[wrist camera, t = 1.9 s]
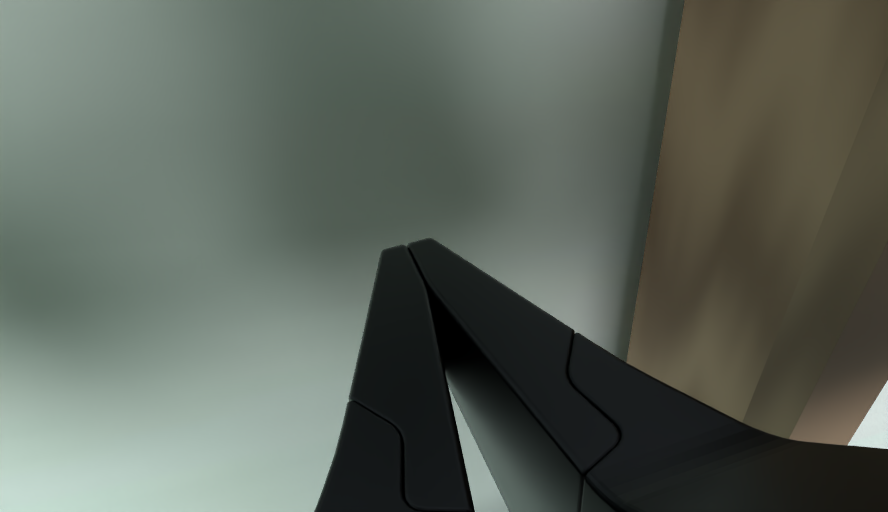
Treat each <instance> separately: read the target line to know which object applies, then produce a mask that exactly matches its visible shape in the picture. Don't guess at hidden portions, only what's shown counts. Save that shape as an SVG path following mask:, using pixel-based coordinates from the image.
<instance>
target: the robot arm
mask: <svg viewBox="0 0 888 512" xmlns="http://www.w3.org/2000/svg"><path fill="white" fill-rule="evenodd" d="M448 385H449V387H450V389H451V392H452V394H453V396H454V398H455V400H456V402H457V404H458V406H459V408H460V410H461V412H462V414H463V416H464V418H465V421H466V423H467V425H468V427H469V429H470V431H471V433H472V435H473V437H474V439H475V441H476V443H477V445H478V448H479V450H480V452H481V454H482V456H483V458H484V460H485V462H486V464H487V466H488V468H489V470H490V472H491V475H492V477H493V479H494V481H495V483H496V485H497V487H498V489H499V491H500V493H501V495H502V497H503V499H504V501H505V504H506V506H507V508H508V510H509V512H888V449H881V448H870V447H859V446H848V445H837V444H826V443H815V442H805V441H797V440H792V439H787V438H783V437H780V436H776V435H773V434H769V433H767V432H764V431H761V430H759V429H756V428H753V427H751V426H749V425H747V424H745V423H743V422H740V421H738V420H736V419H734V418H732V417H730V416H728V415H727V414H725V413H723V412H721V411H719V410H717V409H715V408H713V407H711V406H709V405H707V404H705V403H703V402H701V401H699V400H697V399H695V398H693V397H691V396H689V395H687V394H685V393H683V392H681V391H679V390H677V389H675V388H674V387H672V386H670V385H668V384H666V383H664V382H662V381H660V380H658V379H656V378H654V377H652V376H650V375H649V374H647V373H645V372H643V371H641V370H639V369H637V368H636V367H634V366H632V365H630V364H628V363H626V362H624V361H623V360H621V359H620V358H618V357H616V356H615V355H613V354H611V353H610V352H608V351H606V350H605V349H603V348H601V347H600V346H598V345H596V344H595V343H593V342H592V341H590V340H589V339H587V338H586V337H584V336H583V335H581V334H579V333H575V332H574V330H573V329H571V328H570V327H568V326H567V325H565V324H564V323H562V322H561V321H559V320H557V319H556V318H554V317H553V316H551V315H550V314H548V313H547V312H545V311H544V310H542V309H540V308H539V307H537V306H536V305H534V304H533V303H531V302H530V301H528V300H527V299H525V298H523V297H522V296H520V295H519V294H517V293H516V292H514V291H513V290H511V289H510V288H508V287H506V286H505V285H503V284H502V283H500V282H499V281H497V280H496V279H494V278H493V277H491V276H489V275H488V274H486V273H485V272H483V271H482V270H480V269H479V268H477V267H476V266H474V265H472V264H471V263H469V262H468V261H466V260H465V259H463V258H462V257H460V256H459V255H457V254H455V253H454V252H452V251H451V250H449V249H448V248H446V247H445V246H443V245H442V244H440V243H438V242H437V241H435V240H434V239H432V238H426V239H422V240H418V241H415V242H411V243H409V244H408V246H407V247H406V246H405V245H399V246H395V247H391V248H388V249H384V250H383V251H382V252H381V255H380V260H379V264H378V269H377V273H376V278H375V282H374V287H373V291H372V296H371V300H370V305H369V309H368V314H367V318H366V323H365V327H364V332H363V336H362V341H361V345H360V350H359V354H358V359H357V363H356V368H355V372H354V377H353V381H352V386H351V390H350V395H349V402H348V403H347V407H346V411H345V416H344V420H343V425H342V428H341V432H340V436H339V440H338V444H337V447H336V451H335V455H334V458H333V461H332V464H331V467H330V470H329V473H328V475H327V478H326V481H325V484H324V487H323V490H322V493H321V495H320V498H319V501H318V503H317V506H316V509H315V511H314V512H475V510H474V506H473V501H472V496H471V491H470V487H469V482H468V477H467V473H466V468H465V463H464V458H463V454H462V449H461V444H460V439H459V435H458V430H457V425H456V421H455V416H454V411H453V406H452V402H451V397H450V392H449V387H448Z"/></svg>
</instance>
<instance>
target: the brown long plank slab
mask: <svg viewBox="0 0 888 512" xmlns="http://www.w3.org/2000/svg"><path fill="white" fill-rule="evenodd" d="M626 363H628V364H630V365H632V366H634V367H636V368H637V369H639V370H641V371H643V372H645V373H647V374H649V375H650V376H652V377H654V378H656V379H658V380H660V381H662V382H664V383H666V384H668V385H670V386H672V387H674V388H675V389H677V390H679V391H681V392H683V393H685V394H687V395H689V396H691V397H693V398H695V399H697V400H699V401H701V402H703V403H705V404H707V405H709V406H711V407H713V408H715V409H717V410H719V411H721V412H723V413H725V414H727V415H728V416H730V417H732V418H734V419H736V420H738V421H740V422H743V423H745V424H747V425H749V426H751V427H753V428H756V429H759V430H761V431H764V432H767V433H769V434H773V435H776V436H780V437H783V438H787V439H792V440H797V441H805V442H815V443H826V444H837V445H848V443H849V441H850V440H851V438H852V437H853V435H854V433H855V432H856V430H857V429H858V427H859V425H860V424H861V422H862V421H863V419H864V417H865V416H866V414H867V412H868V411H869V409H870V408H871V406H872V404H873V403H874V401H875V400H876V398H877V396H878V395H879V393H880V392H881V390H882V388H883V387H884V385H885V384H886V382H887V380H888V0H685V1H684V7H683V14H682V20H681V26H680V32H679V39H678V45H677V51H676V57H675V63H674V70H673V76H672V82H671V88H670V94H669V101H668V107H667V113H666V119H665V125H664V132H663V138H662V144H661V150H660V156H659V163H658V169H657V175H656V181H655V187H654V194H653V200H652V206H651V212H650V218H649V225H648V231H647V237H646V243H645V249H644V256H643V262H642V268H641V274H640V281H639V287H638V293H637V299H636V305H635V312H634V318H633V324H632V330H631V336H630V343H629V349H628V355H627V361H626Z"/></svg>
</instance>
